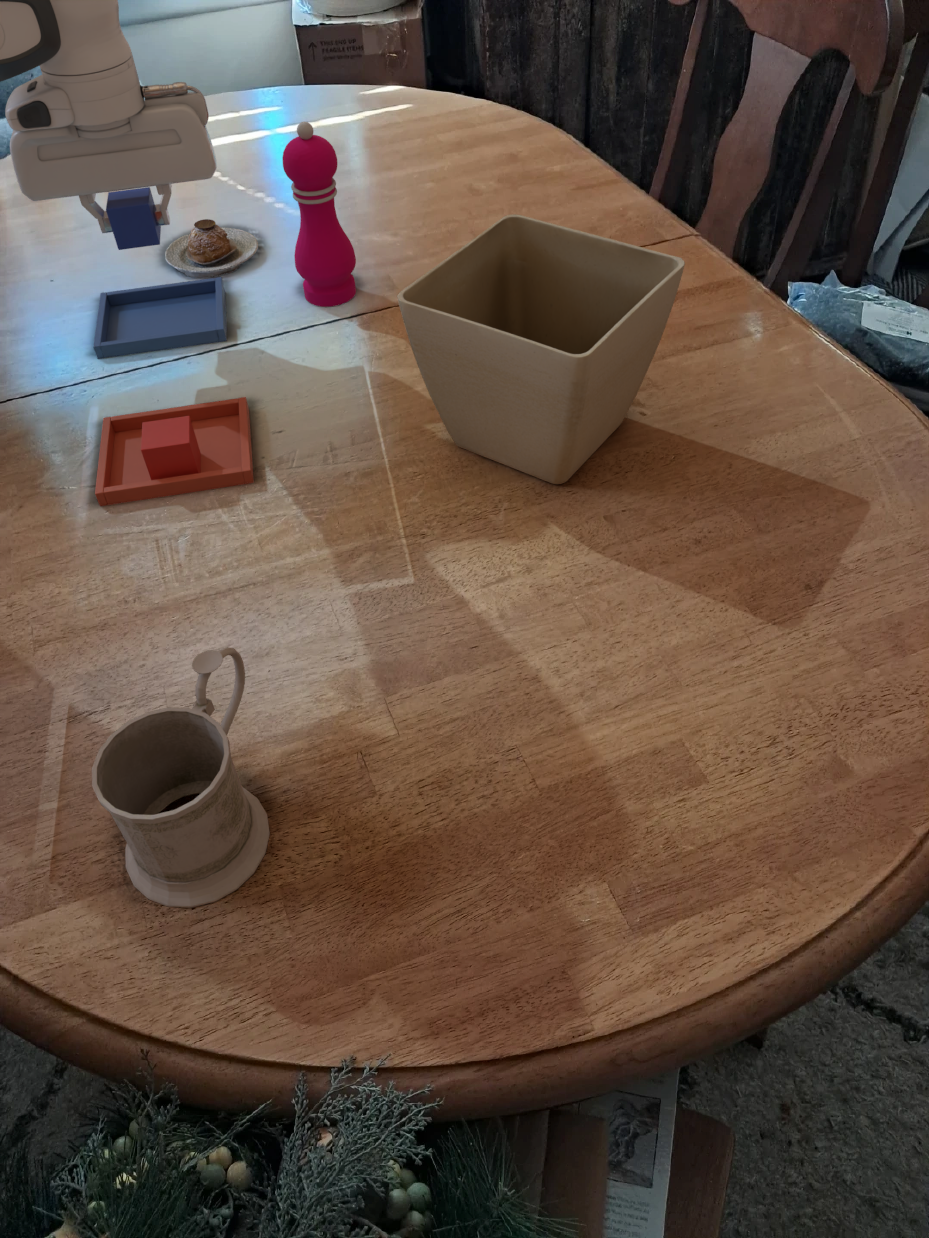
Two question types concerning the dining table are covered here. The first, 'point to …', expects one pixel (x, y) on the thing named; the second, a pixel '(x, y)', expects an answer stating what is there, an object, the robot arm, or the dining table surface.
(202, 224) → the pastry
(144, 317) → the blue tray
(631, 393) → the flower pot
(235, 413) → the red tray
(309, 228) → the pepper mill
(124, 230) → the blue block
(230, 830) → the mug
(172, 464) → the red block
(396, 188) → the dining table surface
